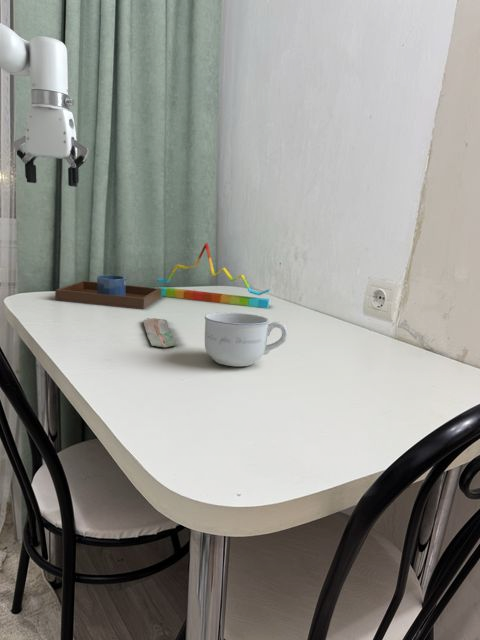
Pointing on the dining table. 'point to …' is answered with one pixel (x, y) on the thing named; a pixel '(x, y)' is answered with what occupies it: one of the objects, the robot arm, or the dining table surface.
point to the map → (159, 332)
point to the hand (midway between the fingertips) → (52, 184)
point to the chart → (214, 296)
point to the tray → (88, 294)
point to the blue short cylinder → (111, 285)
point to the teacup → (239, 337)
